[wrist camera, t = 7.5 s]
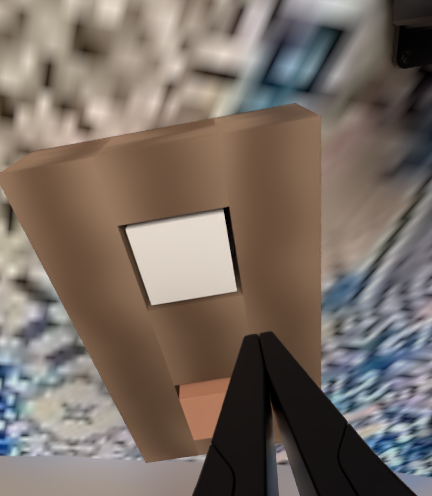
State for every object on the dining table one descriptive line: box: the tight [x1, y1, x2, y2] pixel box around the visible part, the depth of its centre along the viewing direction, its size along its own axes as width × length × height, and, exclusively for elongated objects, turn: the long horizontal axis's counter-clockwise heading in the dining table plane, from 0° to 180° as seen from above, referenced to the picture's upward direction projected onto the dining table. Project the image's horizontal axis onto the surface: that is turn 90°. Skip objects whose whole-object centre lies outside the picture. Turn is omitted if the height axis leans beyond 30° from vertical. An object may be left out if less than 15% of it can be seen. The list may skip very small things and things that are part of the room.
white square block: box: [126, 208, 237, 305], centre depth 19 cm, size 5×5×4 cm
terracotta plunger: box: [179, 377, 231, 440], centre depth 24 cm, size 5×5×4 cm
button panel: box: [0, 103, 321, 463], centre depth 22 cm, size 14×24×4 cm, turn 9°
